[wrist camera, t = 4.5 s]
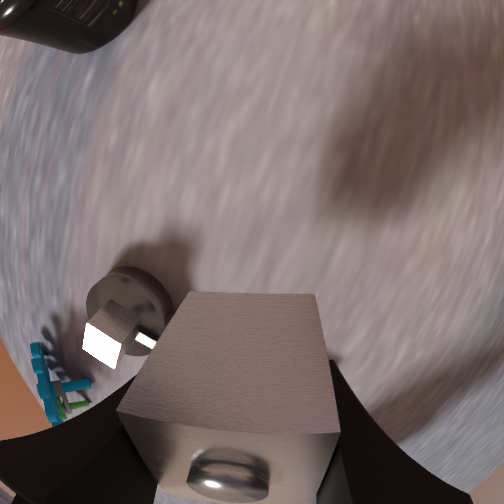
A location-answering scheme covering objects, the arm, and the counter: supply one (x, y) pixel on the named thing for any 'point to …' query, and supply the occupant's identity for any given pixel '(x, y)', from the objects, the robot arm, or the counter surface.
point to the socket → (236, 400)
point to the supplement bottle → (65, 22)
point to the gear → (55, 389)
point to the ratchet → (126, 315)
